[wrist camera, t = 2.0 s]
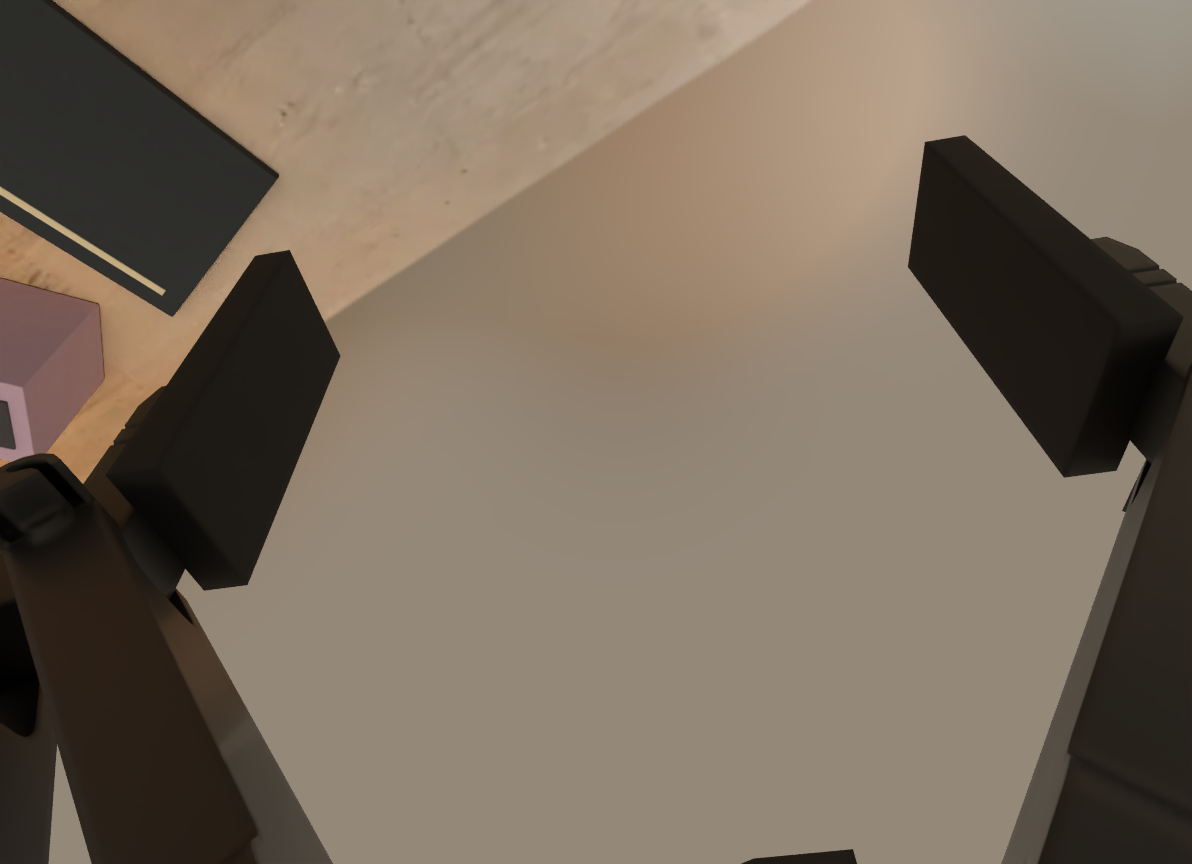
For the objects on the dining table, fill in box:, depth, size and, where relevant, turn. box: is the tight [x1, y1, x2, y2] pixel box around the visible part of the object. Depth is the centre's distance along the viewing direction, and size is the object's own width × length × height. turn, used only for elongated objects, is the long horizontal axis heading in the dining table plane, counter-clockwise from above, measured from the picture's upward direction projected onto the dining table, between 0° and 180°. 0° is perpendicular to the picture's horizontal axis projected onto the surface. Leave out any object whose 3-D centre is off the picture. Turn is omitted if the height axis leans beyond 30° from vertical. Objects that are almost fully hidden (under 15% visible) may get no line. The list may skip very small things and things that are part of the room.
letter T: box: [0, 278, 104, 462], centre depth 38 cm, size 6×6×8 cm
